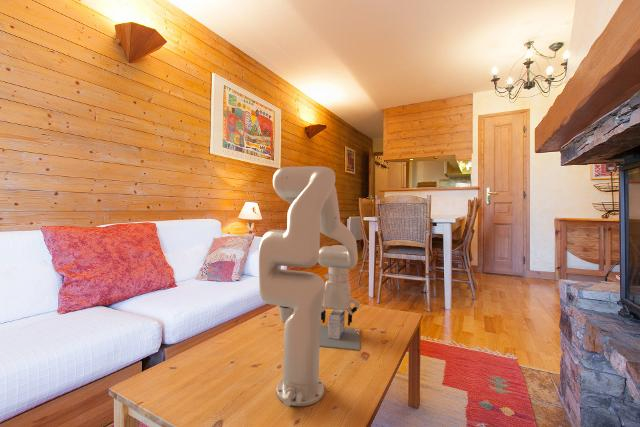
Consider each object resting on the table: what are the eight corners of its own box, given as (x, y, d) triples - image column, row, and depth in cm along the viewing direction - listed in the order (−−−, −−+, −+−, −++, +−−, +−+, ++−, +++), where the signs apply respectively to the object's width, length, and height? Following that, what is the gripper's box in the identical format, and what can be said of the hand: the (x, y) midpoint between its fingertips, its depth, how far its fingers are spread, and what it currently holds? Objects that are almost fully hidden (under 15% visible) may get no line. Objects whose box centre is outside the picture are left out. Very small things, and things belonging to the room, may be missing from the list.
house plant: (302, 328, 118) (303, 288, 118) (268, 327, 118) (269, 287, 118) (304, 315, 132) (305, 279, 132) (274, 314, 133) (275, 278, 133)
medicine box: (339, 340, 108) (340, 316, 108) (327, 338, 109) (328, 315, 109) (344, 331, 115) (345, 310, 115) (333, 330, 117) (334, 308, 116)
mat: (359, 350, 101) (359, 349, 101) (297, 344, 104) (297, 343, 104) (360, 329, 119) (360, 328, 119) (307, 324, 122) (307, 323, 122)
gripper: (314, 278, 109) (312, 324, 109) (360, 281, 107) (359, 328, 106) (317, 274, 117) (315, 317, 116) (361, 277, 114) (359, 321, 114)
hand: (336, 323), depth 111 cm, fingers open, 9 cm apart
